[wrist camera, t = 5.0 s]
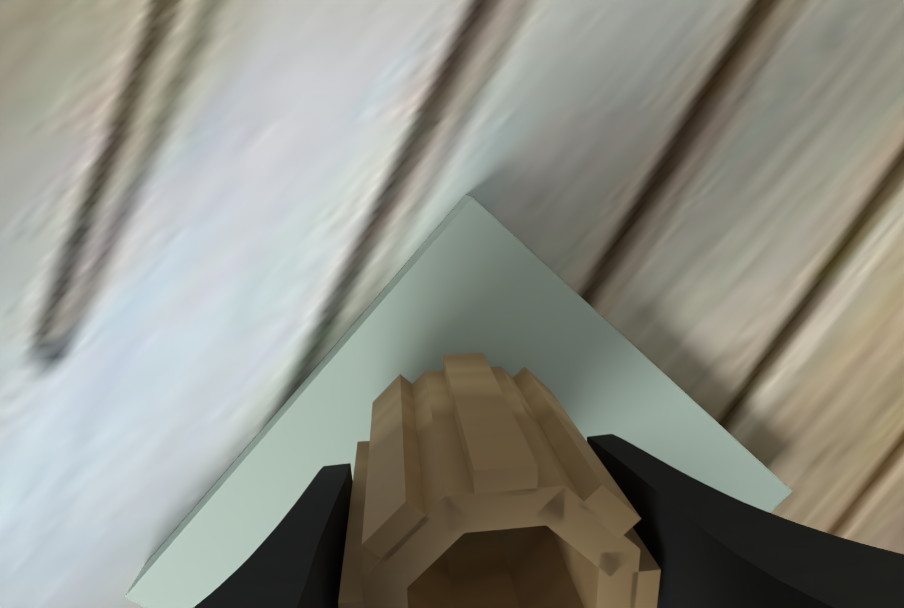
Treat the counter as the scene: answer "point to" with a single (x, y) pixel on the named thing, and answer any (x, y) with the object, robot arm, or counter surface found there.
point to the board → (422, 348)
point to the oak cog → (486, 502)
